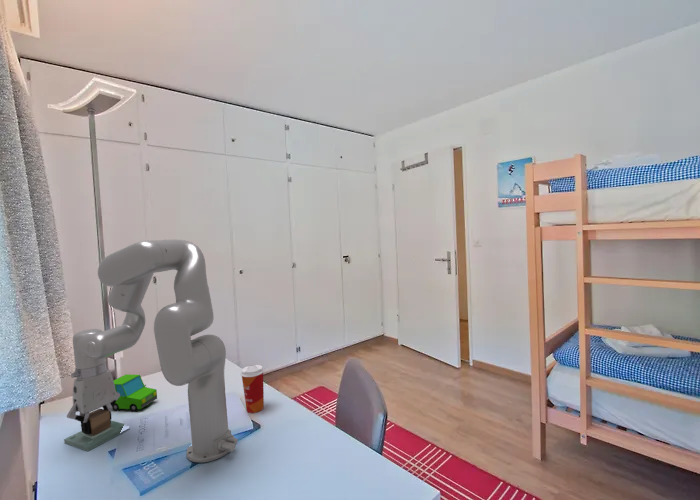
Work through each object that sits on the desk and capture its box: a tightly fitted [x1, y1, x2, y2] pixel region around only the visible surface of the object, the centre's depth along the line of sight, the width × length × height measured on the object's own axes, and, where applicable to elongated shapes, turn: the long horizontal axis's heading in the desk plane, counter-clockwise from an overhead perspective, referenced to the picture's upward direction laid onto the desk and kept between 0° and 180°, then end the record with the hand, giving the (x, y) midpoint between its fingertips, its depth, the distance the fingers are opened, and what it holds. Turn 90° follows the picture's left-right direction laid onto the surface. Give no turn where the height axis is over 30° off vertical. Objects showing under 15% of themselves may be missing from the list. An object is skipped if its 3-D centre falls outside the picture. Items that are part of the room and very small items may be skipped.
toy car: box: [112, 374, 158, 413], centre depth 126 cm, size 10×13×10 cm
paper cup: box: [240, 364, 265, 414], centre depth 118 cm, size 8×8×14 cm
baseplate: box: [63, 420, 125, 452], centre depth 107 cm, size 12×12×2 cm
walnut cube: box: [88, 407, 111, 435], centre depth 107 cm, size 5×5×5 cm
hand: (97, 427), depth 107 cm, fingers closed on walnut cube, 5 cm apart
